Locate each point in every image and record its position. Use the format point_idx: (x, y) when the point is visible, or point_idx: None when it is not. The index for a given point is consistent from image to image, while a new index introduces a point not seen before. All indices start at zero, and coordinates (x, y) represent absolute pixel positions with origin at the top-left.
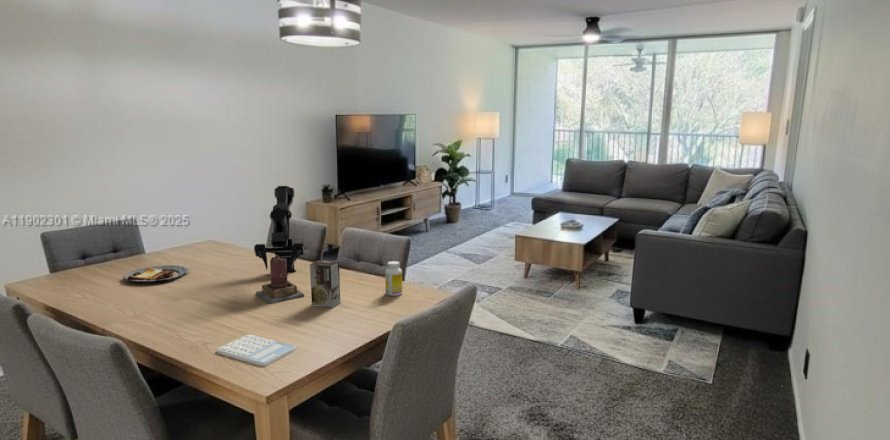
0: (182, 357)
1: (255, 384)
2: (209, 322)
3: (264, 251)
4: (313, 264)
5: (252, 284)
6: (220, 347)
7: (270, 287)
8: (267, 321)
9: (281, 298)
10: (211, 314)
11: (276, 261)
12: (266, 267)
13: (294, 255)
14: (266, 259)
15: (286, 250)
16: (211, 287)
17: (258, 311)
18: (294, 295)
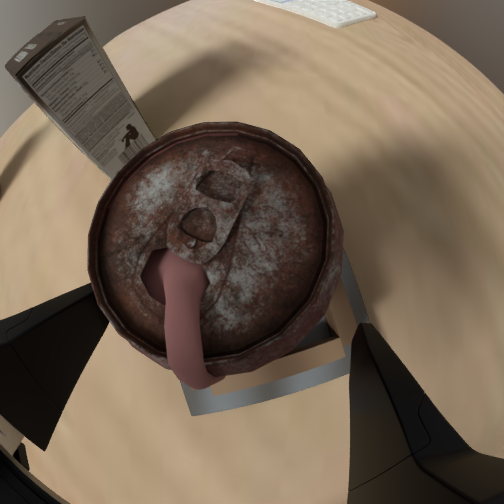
0: (416, 26)
1: None
2: (453, 111)
3: (475, 487)
4: (77, 17)
5: None
6: (370, 10)
7: (305, 347)
8: (308, 64)
9: None
10: (475, 162)
11: (243, 130)
12: (366, 324)
13: (1, 324)
14: (391, 402)
15: (31, 479)
16: None
17: (346, 128)
18: None
